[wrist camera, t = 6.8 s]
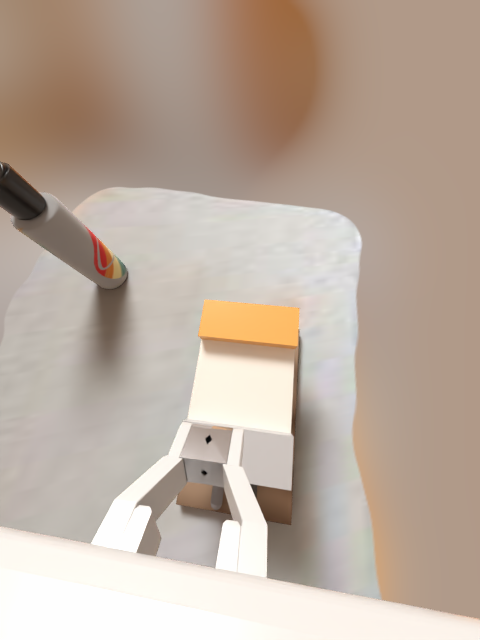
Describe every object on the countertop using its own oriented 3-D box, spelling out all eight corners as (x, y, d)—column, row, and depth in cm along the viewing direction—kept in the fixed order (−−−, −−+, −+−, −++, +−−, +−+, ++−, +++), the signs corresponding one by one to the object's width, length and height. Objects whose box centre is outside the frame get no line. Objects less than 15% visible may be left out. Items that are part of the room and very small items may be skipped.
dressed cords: (254, 513, 27) (254, 519, 25) (210, 505, 27) (208, 511, 26) (264, 399, 31) (264, 399, 29) (225, 394, 31) (224, 394, 30)
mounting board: (289, 518, 27) (290, 525, 26) (180, 498, 29) (176, 504, 27) (297, 331, 35) (299, 328, 33) (209, 322, 36) (208, 320, 35)
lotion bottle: (133, 265, 40) (25, 152, 21) (120, 293, 39) (-9, 198, 20) (106, 259, 41) (-22, 144, 22) (91, 285, 40) (-59, 187, 21)
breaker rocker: (286, 478, 21) (291, 490, 18) (183, 461, 22) (173, 470, 19) (294, 316, 26) (299, 308, 23) (209, 308, 27) (204, 299, 24)
